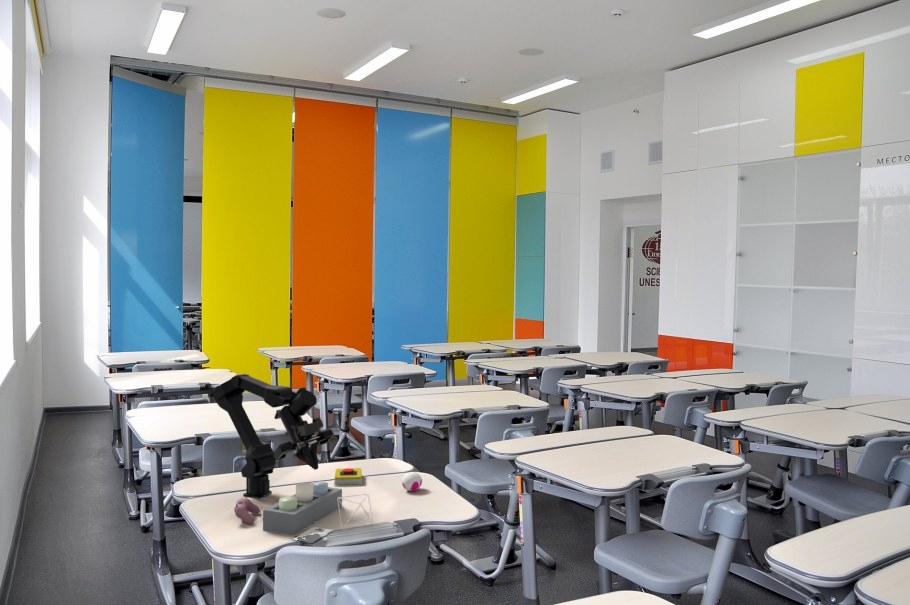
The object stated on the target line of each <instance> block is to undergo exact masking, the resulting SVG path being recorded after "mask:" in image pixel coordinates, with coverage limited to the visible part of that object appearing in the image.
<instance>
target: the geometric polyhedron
mask: <svg viewBox="0 0 910 605" xmlns="http://www.w3.org/2000/svg"><path fill="white" fill-rule="evenodd" d="M359 496H360V494H355V495H353V494H352V495H345V496H342V497H338V498H339V499H342V501H347V502H351V503H354V504H358V506H357V508H356V509H355V511H354V512H353V513H352V515H351V516H350V515H349V514H348V512H347V510H346V508H345V507H344V505H343V502H342V503H341V502H340V500H339V499H338V498H337V500H339V502H340V503H341V505H342V507H341V508H343V510H344V511H345V513H346V515H347V517H348V518H349V519H348V520H347V522H346V523H345V525H344V526H343V524H342V517H341V510H340V509H341V508H340V509H338V514H339V520H340V521H339V522H340V527H341V528H340V529H341V530H343V529H345V527H346V525H347V524H348V523H349V521H351V520H354V521H357V522H360V523H363V524H368V525H370V524H374V520H373V512H372V508H371V507H372V506H371V501H370V494H369V493H363V494H361V496H365V497H364V498H363V500H362V501H361V502H356V501H354V500H353V501H352V500H349V499H345V498H349V497H359ZM367 497H368V502H369V503H368V504H369V510H370V515H371V517H370V516H369V515H368V513H367V511H366V510H365V508H364V506H363V505H362V504H363V502H365V500H366V498H367ZM339 502H338V507H339ZM360 506H361V507H362V509H363V511H364V513H365V514H366V516H367V517H368V519H369V521H370V522H371V523H368V522H366V521H361V520H359V519H355V518H352V517H353V516H354V515H355V513H356V512H357V511H358V509H359V508H360ZM349 528H350V527H348V528H346V530H350V529H349Z"/></svg>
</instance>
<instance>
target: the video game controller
mask: <svg viewBox="0 0 910 605" xmlns="http://www.w3.org/2000/svg"><path fill="white" fill-rule="evenodd" d="M233 511H234V514H235V516H236V517H237V518H238V519H240V521H241V522H244V523H246V524H248V525H253V524H255V521H256V518H255V517H254V516H253V515H260V514H261V509H260V507H259V506H258V505H256V504H255V503H254V502H253V501H252V500H251V499H249V498H248V496H245V498H244V497H242V498H240V499H238V500H237V501H236V502H235V506H234V507H233ZM252 514H253V515H252Z"/></svg>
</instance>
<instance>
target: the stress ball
mask: <svg viewBox="0 0 910 605" xmlns="http://www.w3.org/2000/svg"><path fill="white" fill-rule="evenodd" d="M422 483H423V478H422V476H421V475H420V474H419V473H418V472H416V471H411V472H407V473H406V474H404V475H403V476H402V479H401V484H402V487H403V489H404V490H406V491H409V492H415V491H417V492H419V489H420V487H421V486H422V485H423V484H422ZM420 492H423V491H422V490H421V491H420Z"/></svg>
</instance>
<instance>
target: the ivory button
mask: <svg viewBox="0 0 910 605" xmlns="http://www.w3.org/2000/svg"><path fill="white" fill-rule="evenodd" d="M312 483H313V482H299V483H297V484H296V485H295V494H296V498H297V502H303V503H309V502H311V501H313V484H312Z"/></svg>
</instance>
